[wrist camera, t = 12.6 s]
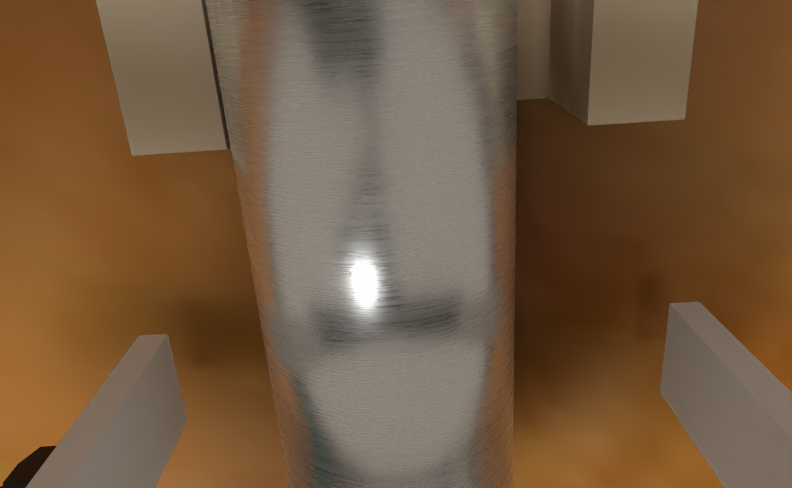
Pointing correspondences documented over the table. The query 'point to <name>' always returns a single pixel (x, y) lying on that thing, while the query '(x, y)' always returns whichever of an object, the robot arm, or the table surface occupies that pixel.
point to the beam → (536, 65)
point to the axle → (380, 230)
